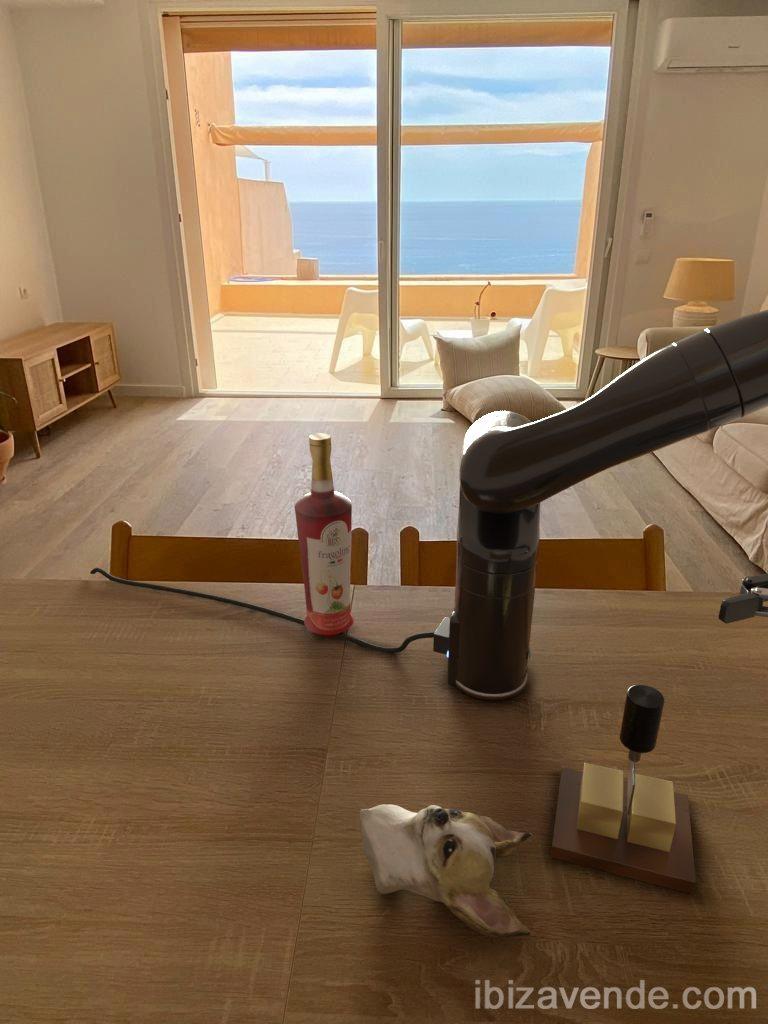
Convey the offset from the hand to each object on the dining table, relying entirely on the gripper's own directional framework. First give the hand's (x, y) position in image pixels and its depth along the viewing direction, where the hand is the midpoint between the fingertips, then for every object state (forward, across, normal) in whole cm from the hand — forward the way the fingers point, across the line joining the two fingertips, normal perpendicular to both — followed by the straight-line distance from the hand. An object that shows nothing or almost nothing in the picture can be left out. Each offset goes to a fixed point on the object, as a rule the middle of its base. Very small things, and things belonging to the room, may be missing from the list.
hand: (758, 637), depth 61 cm
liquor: (+29, -42, +19) cm, 54 cm away
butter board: (+11, 0, +19) cm, 22 cm away
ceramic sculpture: (+29, -1, +19) cm, 35 cm away
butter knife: (+11, 0, +14) cm, 18 cm away
